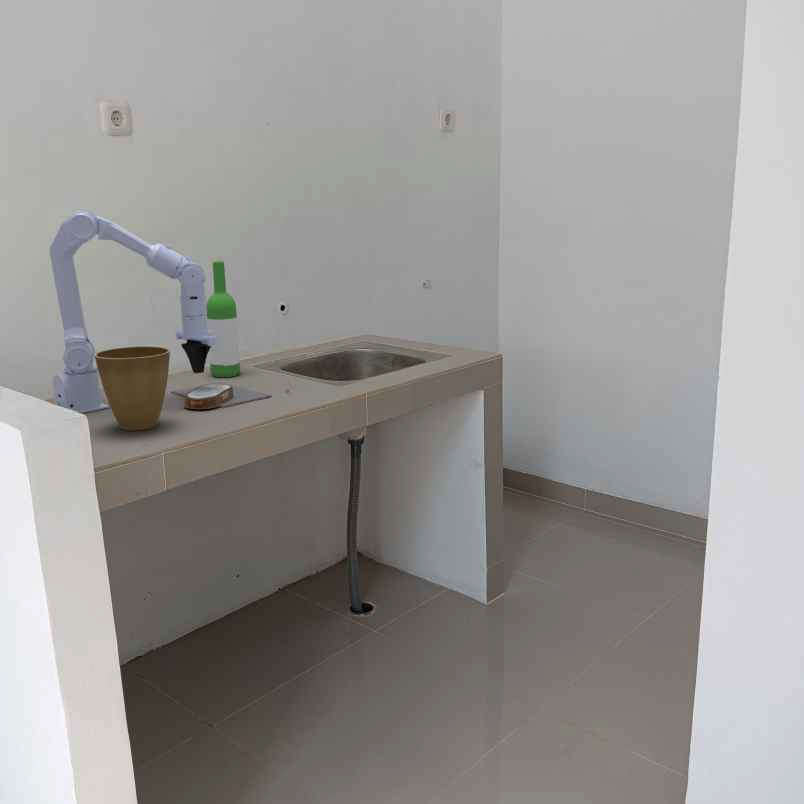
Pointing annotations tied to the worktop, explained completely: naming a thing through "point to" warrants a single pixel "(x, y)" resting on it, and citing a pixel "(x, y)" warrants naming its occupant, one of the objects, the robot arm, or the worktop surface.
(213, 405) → the tin
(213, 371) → the wine bottle
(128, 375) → the plant pot
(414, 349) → the worktop surface
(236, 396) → the mat
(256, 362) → the worktop surface
